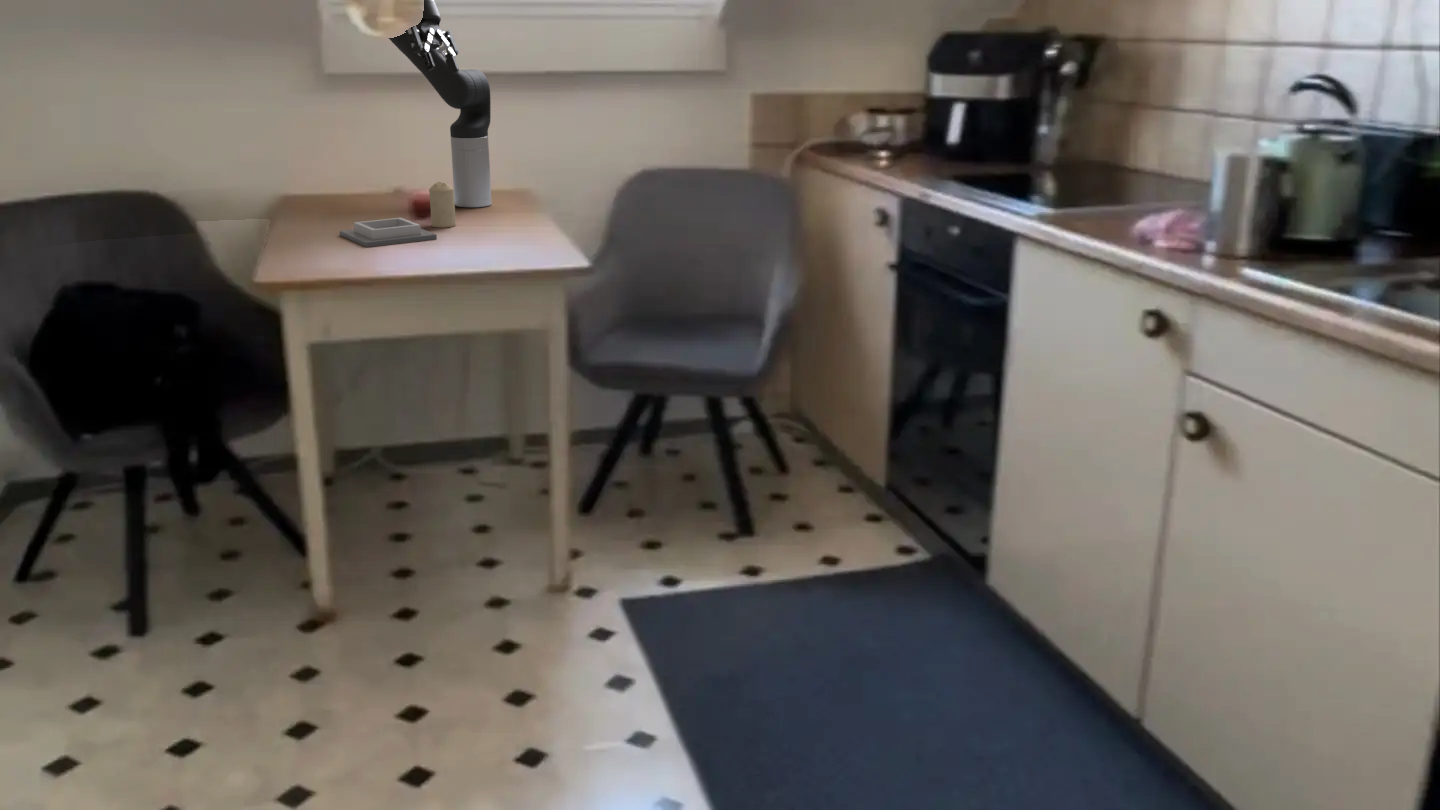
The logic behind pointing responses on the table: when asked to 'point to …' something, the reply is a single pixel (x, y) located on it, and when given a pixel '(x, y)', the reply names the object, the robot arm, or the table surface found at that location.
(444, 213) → the candle
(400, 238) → the candle tray
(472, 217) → the table surface
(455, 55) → the robot arm
